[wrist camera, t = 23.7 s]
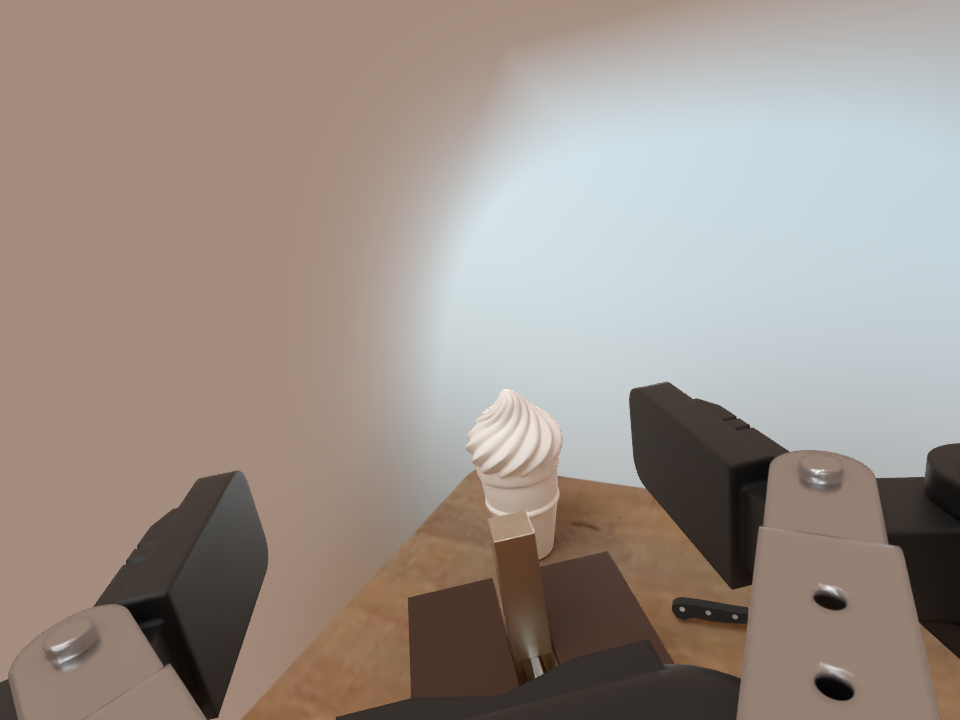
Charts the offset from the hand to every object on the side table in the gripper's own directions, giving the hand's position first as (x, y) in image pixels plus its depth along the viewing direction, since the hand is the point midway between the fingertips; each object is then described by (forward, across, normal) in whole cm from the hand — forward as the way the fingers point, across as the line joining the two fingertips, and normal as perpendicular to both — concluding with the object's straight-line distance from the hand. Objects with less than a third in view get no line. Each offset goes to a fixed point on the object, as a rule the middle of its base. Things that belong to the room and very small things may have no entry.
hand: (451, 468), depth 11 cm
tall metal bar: (+15, +3, -27) cm, 31 cm away
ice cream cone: (+32, +6, -27) cm, 43 cm away
